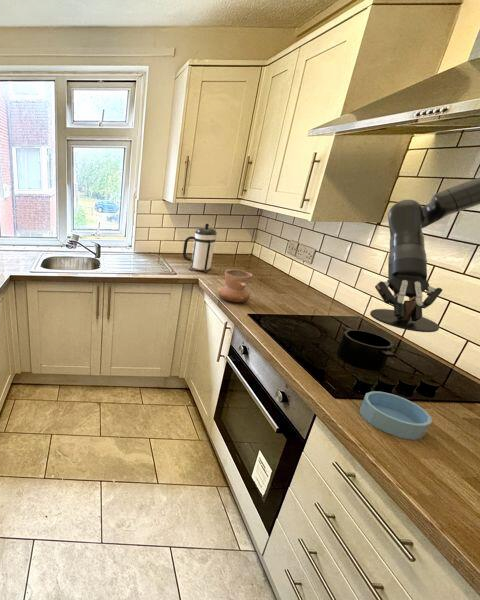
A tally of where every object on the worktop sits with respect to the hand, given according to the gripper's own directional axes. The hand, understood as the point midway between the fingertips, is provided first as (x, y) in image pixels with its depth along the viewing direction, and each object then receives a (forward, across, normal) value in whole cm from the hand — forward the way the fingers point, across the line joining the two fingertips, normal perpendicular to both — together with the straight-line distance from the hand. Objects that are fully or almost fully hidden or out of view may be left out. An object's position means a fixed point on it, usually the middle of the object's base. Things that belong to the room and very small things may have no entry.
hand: (407, 318), depth 84 cm
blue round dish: (+26, +1, -7) cm, 27 cm away
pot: (+3, 0, -30) cm, 30 cm away
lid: (0, 0, -2) cm, 3 cm away
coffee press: (-58, +64, -92) cm, 126 cm away
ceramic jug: (-26, +41, -59) cm, 77 cm away
